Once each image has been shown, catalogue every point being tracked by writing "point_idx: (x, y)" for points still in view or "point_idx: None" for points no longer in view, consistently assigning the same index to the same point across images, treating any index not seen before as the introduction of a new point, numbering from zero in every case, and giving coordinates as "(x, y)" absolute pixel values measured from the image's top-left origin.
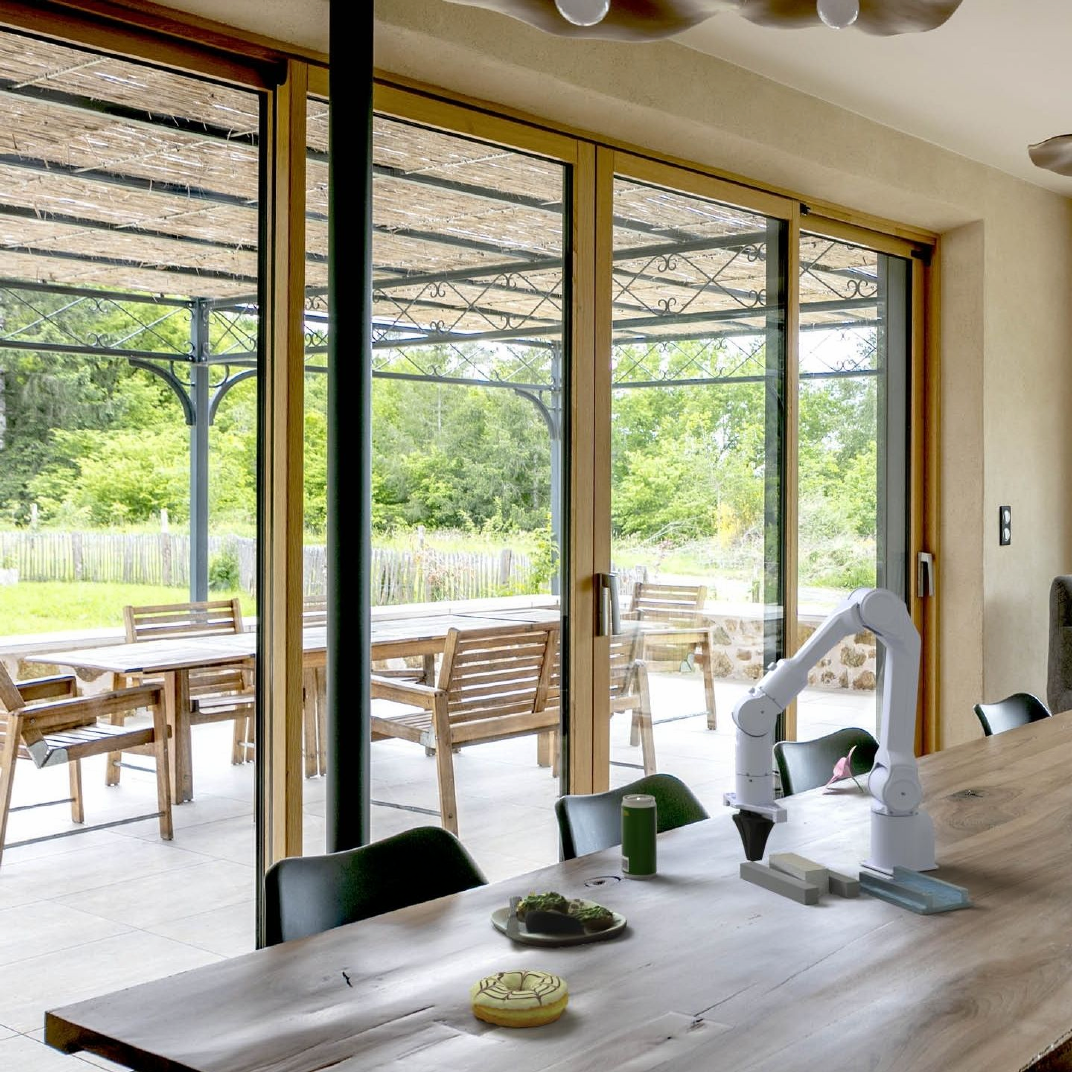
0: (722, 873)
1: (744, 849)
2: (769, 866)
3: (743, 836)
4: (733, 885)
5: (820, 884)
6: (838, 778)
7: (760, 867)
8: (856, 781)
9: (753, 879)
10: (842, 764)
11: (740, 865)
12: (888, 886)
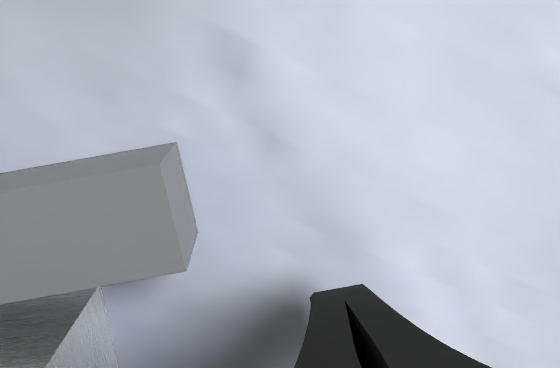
0: (306, 78)
1: (382, 305)
2: (65, 326)
3: (404, 361)
4: (10, 24)
5: None
6: None
7: (9, 253)
8: None
9: (23, 173)
10: None
11: (158, 161)
12: None
